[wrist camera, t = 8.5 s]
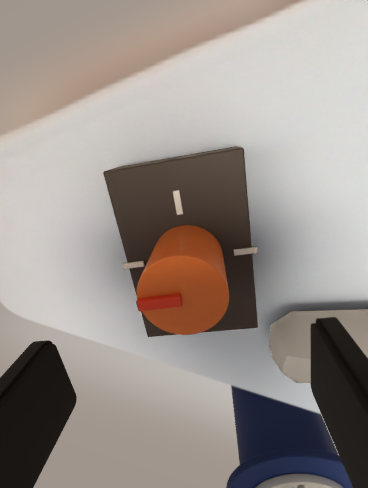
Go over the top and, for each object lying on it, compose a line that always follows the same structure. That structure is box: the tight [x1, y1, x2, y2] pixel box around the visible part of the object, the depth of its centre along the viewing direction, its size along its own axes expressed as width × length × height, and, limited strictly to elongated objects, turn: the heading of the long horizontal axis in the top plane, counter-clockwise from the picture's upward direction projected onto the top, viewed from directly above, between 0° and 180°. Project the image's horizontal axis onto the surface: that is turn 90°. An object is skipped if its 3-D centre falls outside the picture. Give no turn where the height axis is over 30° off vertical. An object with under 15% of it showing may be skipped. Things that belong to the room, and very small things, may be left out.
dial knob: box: [136, 225, 229, 335], centre depth 14 cm, size 4×4×5 cm
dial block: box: [104, 147, 258, 337], centre depth 18 cm, size 12×9×3 cm
